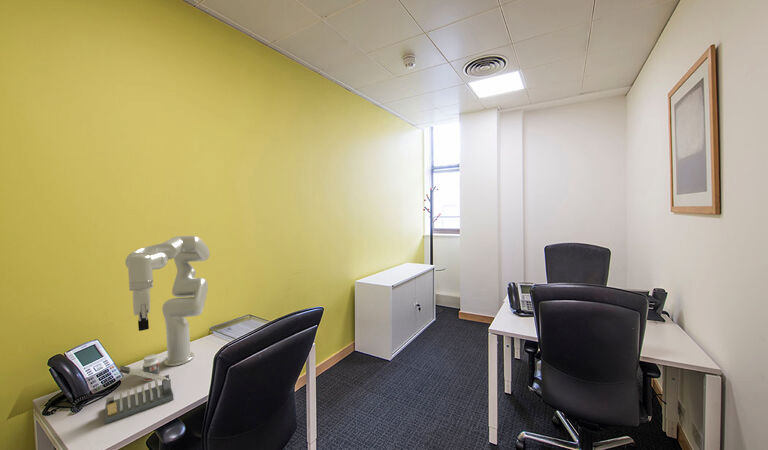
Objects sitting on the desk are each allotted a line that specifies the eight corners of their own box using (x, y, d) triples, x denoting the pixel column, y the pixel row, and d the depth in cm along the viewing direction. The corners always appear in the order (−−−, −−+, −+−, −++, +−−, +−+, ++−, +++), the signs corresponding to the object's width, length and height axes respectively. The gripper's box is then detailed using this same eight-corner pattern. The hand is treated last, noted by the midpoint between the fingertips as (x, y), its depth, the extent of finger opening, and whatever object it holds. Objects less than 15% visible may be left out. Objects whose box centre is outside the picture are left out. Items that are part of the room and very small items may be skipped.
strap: (166, 378, 125) (168, 376, 125) (167, 383, 122) (169, 380, 122) (119, 368, 114) (120, 365, 115) (119, 372, 111) (121, 369, 112)
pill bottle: (161, 376, 137) (160, 355, 136) (147, 383, 132) (145, 361, 131) (155, 373, 140) (154, 352, 139) (141, 379, 135) (139, 358, 134)
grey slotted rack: (105, 408, 115) (104, 390, 115) (169, 386, 129) (168, 371, 128) (105, 424, 106) (103, 405, 106) (173, 399, 120) (172, 382, 119)
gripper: (128, 283, 125) (130, 327, 126) (130, 290, 114) (132, 337, 115) (151, 280, 130) (153, 322, 131) (154, 286, 119) (157, 332, 120)
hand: (143, 329), depth 123 cm, fingers closed
